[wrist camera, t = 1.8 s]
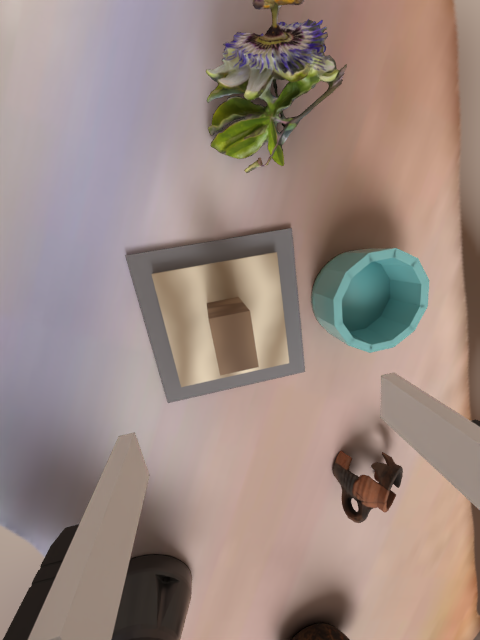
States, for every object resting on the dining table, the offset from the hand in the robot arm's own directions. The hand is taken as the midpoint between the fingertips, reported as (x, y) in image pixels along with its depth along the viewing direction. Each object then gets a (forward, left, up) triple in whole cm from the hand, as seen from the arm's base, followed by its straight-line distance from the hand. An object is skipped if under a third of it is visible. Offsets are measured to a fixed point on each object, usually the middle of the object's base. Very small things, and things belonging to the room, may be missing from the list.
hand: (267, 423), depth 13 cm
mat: (0, 0, -21) cm, 21 cm away
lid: (0, 0, -20) cm, 20 cm away
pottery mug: (+17, -31, -21) cm, 42 cm away
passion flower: (+8, +22, -21) cm, 31 cm away
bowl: (+18, 0, -21) cm, 27 cm away
